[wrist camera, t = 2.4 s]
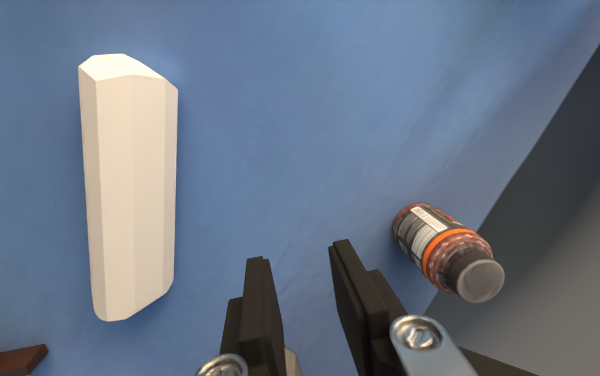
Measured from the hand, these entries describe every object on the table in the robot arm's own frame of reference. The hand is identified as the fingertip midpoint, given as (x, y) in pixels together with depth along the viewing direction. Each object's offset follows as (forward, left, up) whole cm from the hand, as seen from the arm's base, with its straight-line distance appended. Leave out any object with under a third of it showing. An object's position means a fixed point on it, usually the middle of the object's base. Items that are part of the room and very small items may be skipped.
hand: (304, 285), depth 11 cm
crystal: (0, -14, -21) cm, 26 cm away
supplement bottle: (+10, +14, -21) cm, 27 cm away
